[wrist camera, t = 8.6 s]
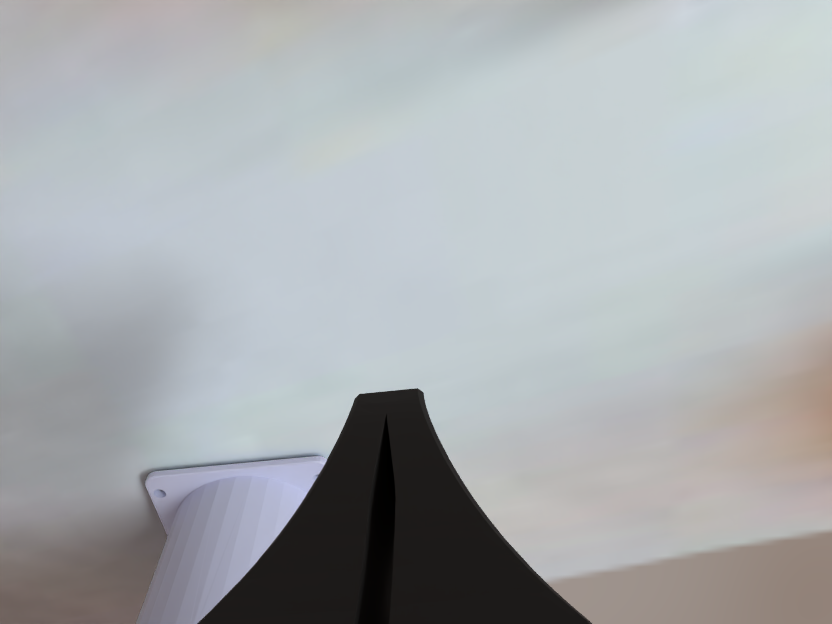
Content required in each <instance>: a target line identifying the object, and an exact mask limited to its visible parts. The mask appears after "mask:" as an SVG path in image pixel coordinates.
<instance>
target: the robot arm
mask: <svg viewBox="0 0 832 624" xmlns="http://www.w3.org/2000/svg"><path fill="white" fill-rule="evenodd" d="M318 474H319V475H318ZM317 475H318V476H317ZM145 486H146V488H147V491H148V493H149V495H150V498H151V500H152V502H153V504H154V507H155V509H156V511H157V513H158V516H159V518H160V520H161V523H162V525H163V527H164V529H165V532H166V534H167V536H168V537H167V540H166V543H165V545H164V548H163V551H162V554H161V556H160V559H159V562H158V564H157V567H156V570H155V573H154V575H153V578H152V581H151V584H150V586H149V589H148V592H147V594H146V597H145V600H144V603H143V605H142V608H141V611H140V613H139V616H138V619H137V622H136V624H592V623H591V622H590V621H589V620H587V619H586V618H585V617H584V616H583V615H582V614H580V613H579V612H578V611H577V610H576V609H575V608H573V607H572V606H571V605H570V604H569V603H568V602H567V601H566V600H564V599H563V598H562V597H561V596H560V595H559V594H558V593H557V592H555V591H554V590H553V589H552V588H551V587H550V586H549V585H548V584H547V583H546V582H545V581H544V580H543V579H542V578H541V577H540V576H539V575H538V574H537V573H536V572H535V571H534V570H533V569H532V568H531V567H530V566H529V565H528V564H527V562H526V561H525V560H524V559H523V558H522V557H521V556H520V555H519V554H518V553H517V552H516V551H515V549H514V548H513V547H512V546H511V545H510V544H509V543H508V542H507V541H506V540H505V538H504V537H503V536H502V535H501V534H500V532H499V531H498V530H497V529H496V527H495V526H494V525H493V524H492V522H491V521H490V520H489V519H488V517H487V516H486V515H485V513H484V512H483V511H482V509H481V508H480V507H479V505H478V504H477V502H476V501H475V499H474V498H473V497H472V495H471V494H470V492H469V491H468V489H467V488H466V486H465V484H464V483H463V481H462V480H461V478H460V476H459V475H458V473H457V472H456V470H455V468H454V466H453V465H452V463H451V461H450V459H449V458H448V456H447V454H446V452H445V450H444V448H443V446H442V444H441V442H440V440H439V438H438V436H437V434H436V432H435V429H434V427H433V425H432V422H431V420H430V417H429V414H428V411H427V408H426V405H425V400H424V393H423V392H422V391H421V390H419V389H418V388H417V389H407V390H397V391H387V392H376V393H366V394H359V395H358V396H357V397H356V398H355V400H354V403H353V406H352V408H351V411H350V413H349V416H348V418H347V421H346V423H345V425H344V427H343V429H342V432H341V434H340V436H339V438H338V440H337V442H336V444H335V446H334V448H333V450H332V452H331V453H330V455H329V457H328V459H326V458H324V457H321V456H312V457H301V458H291V459H280V460H269V461H259V462H248V463H238V464H227V465H216V466H206V467H195V468H185V469H174V470H163V471H154V472H151V473H150V474H148V476H147V479H146V481H145ZM158 489H160V490H163V491H160V490H158Z"/></svg>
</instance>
